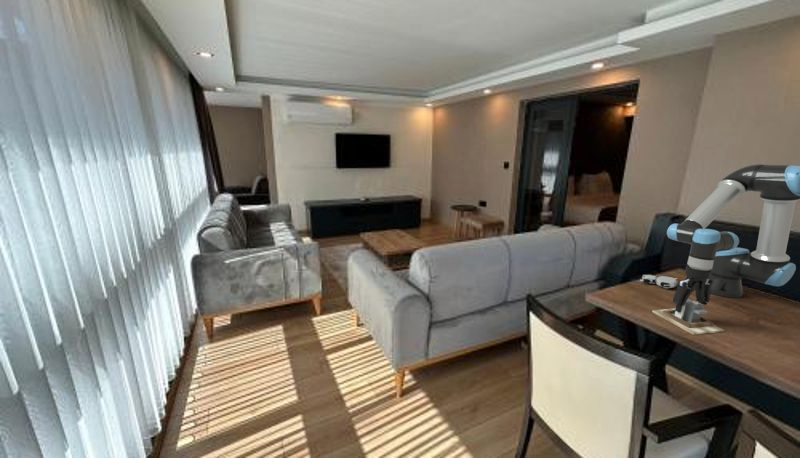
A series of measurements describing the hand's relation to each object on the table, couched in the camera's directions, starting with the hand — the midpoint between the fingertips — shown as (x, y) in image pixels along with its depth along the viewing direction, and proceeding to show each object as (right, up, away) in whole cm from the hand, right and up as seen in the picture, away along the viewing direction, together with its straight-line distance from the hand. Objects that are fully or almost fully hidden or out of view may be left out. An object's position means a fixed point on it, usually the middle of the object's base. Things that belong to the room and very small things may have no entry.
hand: (686, 317), depth 134 cm
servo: (0, -1, 0) cm, 1 cm away
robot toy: (+17, +7, +36) cm, 41 cm away
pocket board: (0, -2, 0) cm, 2 cm away
